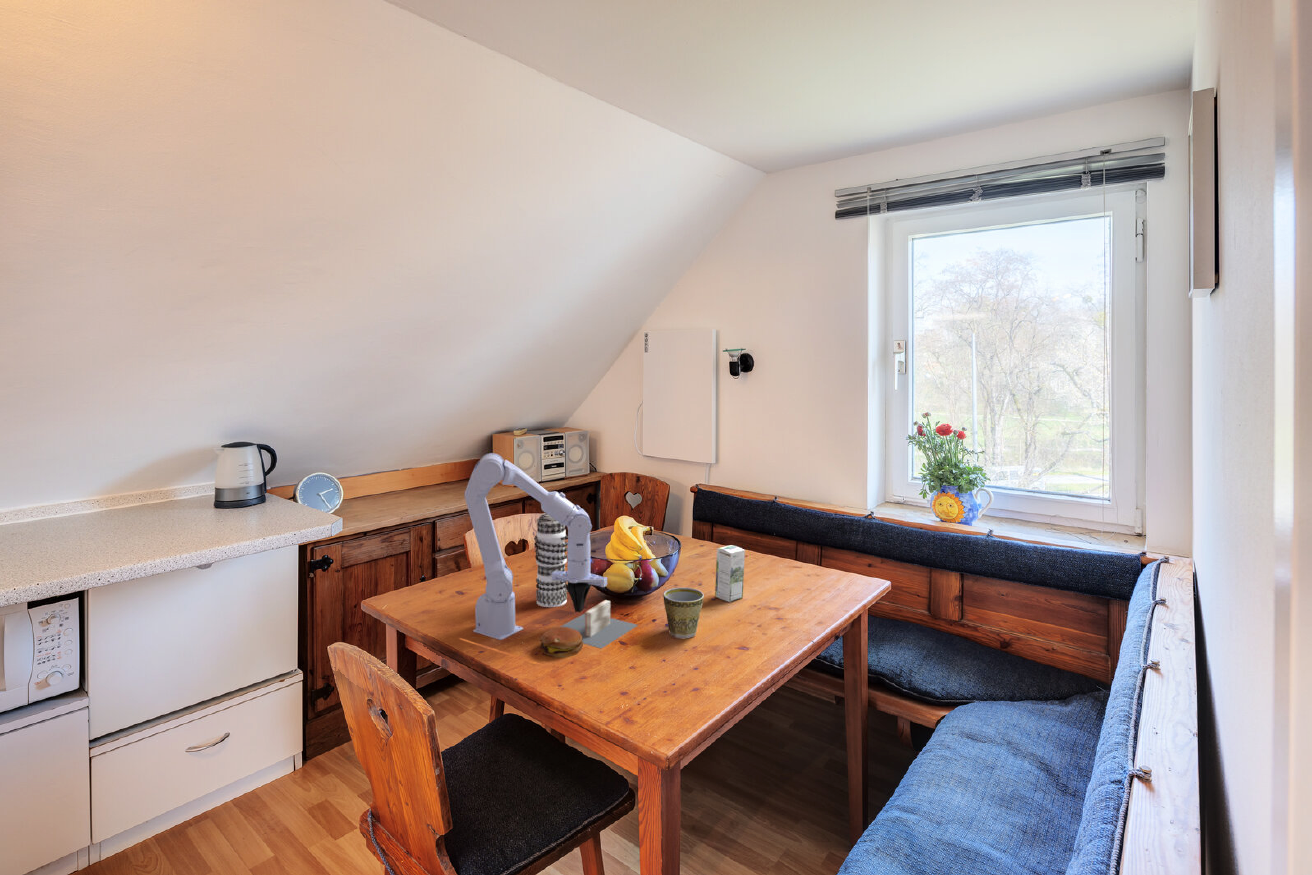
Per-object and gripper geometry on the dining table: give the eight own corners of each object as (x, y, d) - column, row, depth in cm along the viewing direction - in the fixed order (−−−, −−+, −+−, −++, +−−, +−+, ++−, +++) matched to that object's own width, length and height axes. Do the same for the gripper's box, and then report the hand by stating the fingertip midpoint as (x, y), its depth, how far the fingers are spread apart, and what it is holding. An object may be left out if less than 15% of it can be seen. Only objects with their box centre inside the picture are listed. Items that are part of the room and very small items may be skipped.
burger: (580, 640, 161) (580, 621, 160) (585, 657, 152) (585, 638, 151) (538, 644, 159) (538, 625, 158) (541, 662, 150) (540, 642, 149)
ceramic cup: (700, 643, 160) (700, 603, 159) (659, 639, 162) (659, 599, 160) (707, 622, 172) (707, 585, 171) (668, 618, 174) (669, 582, 173)
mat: (548, 634, 164) (548, 633, 164) (587, 613, 177) (587, 611, 177) (601, 650, 156) (601, 648, 156) (638, 626, 169) (638, 624, 169)
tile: (604, 622, 171) (604, 599, 170) (610, 623, 170) (610, 601, 169) (585, 635, 163) (585, 611, 162) (590, 636, 162) (590, 613, 161)
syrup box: (728, 592, 194) (729, 544, 192) (743, 598, 190) (745, 548, 188) (714, 596, 190) (715, 547, 189) (729, 602, 186) (731, 552, 184)
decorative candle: (557, 594, 191) (556, 508, 188) (574, 603, 184) (574, 515, 181) (528, 601, 186) (527, 513, 182) (545, 611, 178) (545, 520, 175)
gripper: (545, 559, 165) (545, 612, 167) (599, 566, 161) (599, 620, 162) (558, 551, 172) (558, 602, 174) (610, 557, 167) (610, 609, 169)
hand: (579, 610), depth 168 cm, fingers closed
